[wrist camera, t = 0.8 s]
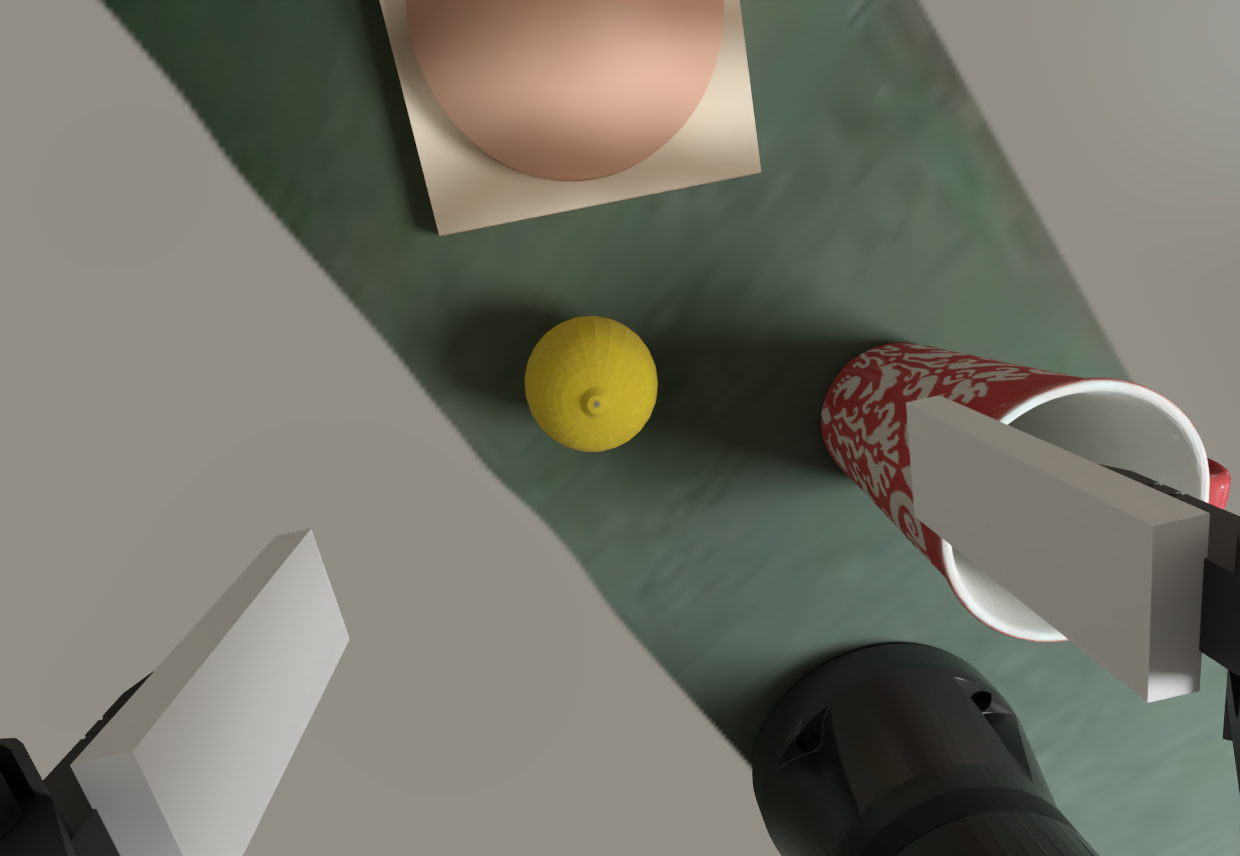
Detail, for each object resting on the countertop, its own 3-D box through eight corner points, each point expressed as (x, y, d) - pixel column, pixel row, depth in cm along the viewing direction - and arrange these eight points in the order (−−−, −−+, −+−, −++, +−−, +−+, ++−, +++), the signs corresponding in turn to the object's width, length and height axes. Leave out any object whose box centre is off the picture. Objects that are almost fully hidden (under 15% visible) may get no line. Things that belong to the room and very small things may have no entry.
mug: (787, 495, 36) (918, 642, 23) (814, 318, 34) (976, 370, 21) (1017, 505, 37) (1263, 649, 24) (1058, 335, 35) (1353, 395, 22)
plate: (751, 175, 32) (771, 168, 29) (444, 235, 31) (433, 236, 28) (703, -195, 28) (721, -245, 25) (352, -132, 27) (328, -176, 24)
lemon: (668, 369, 34) (701, 409, 26) (582, 445, 34) (590, 505, 27) (591, 281, 32) (602, 296, 25) (503, 361, 33) (487, 400, 25)
